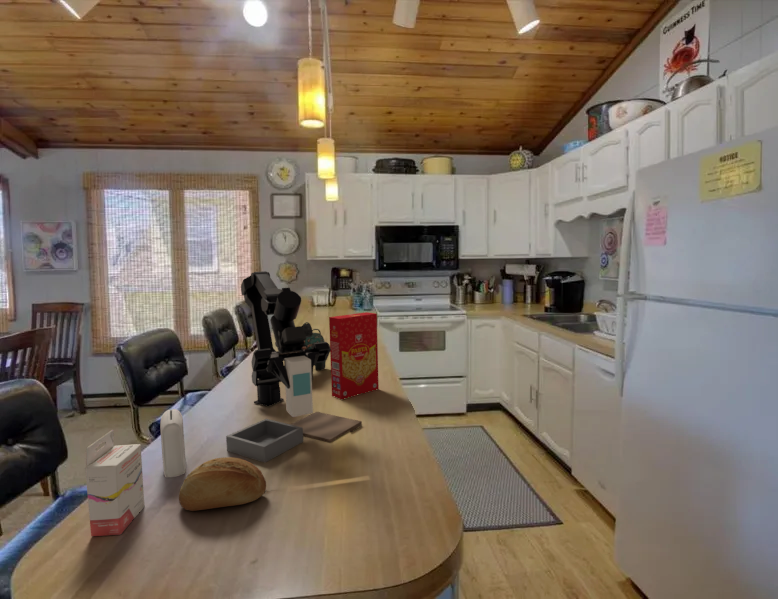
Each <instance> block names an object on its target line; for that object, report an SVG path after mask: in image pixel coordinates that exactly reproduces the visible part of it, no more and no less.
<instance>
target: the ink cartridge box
mask: <svg viewBox="0 0 778 599" xmlns="http://www.w3.org/2000/svg"><path fill="white" fill-rule="evenodd" d="M114 436H115V430H114V429H111V430H110V431H108V432H107V433H106V434H104V435H103V436H101V437H100V438H98V439H97V440H95V441H94V442H92V444H90V445H88V446H87V447H86V450H85V468H84V469H85V482H86V493H87V504H88V513H89V528H90V536H91V537H101V536H117V535H118V536H119V535H122V534H123V533H124V532H125V530H126V529H127V528H128V527H129V525H130V524H131V523H132V522H133V521H134V520H135V518H136V517H137V516H138V515H139V514H140V513H139V512H142V510H143V509H144V508H145V494H144V493H145V492H144V490H145V489H144V478H143V477H144V476H143V461H142V444H140V443H137V444H136V443H135V444H134V443H133V444H132V443H131V444H121V445H118V444H117V445H114V443H115V442H114V440H115V439H114V438H115V437H114ZM101 444H104V445H103V446H102V447H100V445H101ZM98 447H100V448H99V449H98V450H97V448H98ZM133 519H134V520H133ZM132 520H133V521H132Z"/></svg>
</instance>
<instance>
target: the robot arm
mask: <svg viewBox="0 0 778 599" xmlns="http://www.w3.org/2000/svg"><path fill="white" fill-rule="evenodd" d="M240 293H241V296H243V299H244V302H245V304H246V306H248V307H249V308H250V309H251V315H252V323H253V327H254V329H253V330H254V334H255V340H256V341H255V342H256V345H257V349H255V350H254V351H253V352H252V353H253V354H252V358H251V369H252V371H251V372H252V373H251V382H252V384H253V385H254V386H255V387H256V390H257V400H254V401H253V404H255V405H260V406H263V407H271V406H274V405H276V404H279V403H281V402H283V401H285V399H284V398H282V397H281V387H280V383H282V384H283V385H284V387H285V386H286V387H287V388H288V389H289V388H290V383H289V379H288V376H287V373H286V370H285V367H284V358H290V357H297V356H306V357H307V358H309V359H310V360H311V374H312V380H314V379H313V377H314V367H315V365H316V363H320V362H325V361H326V362H327V360H328V358H329V355H330V351H331V348H330V343H329V342H327V341H325V342H319V343H313V345H312V348H311V349H307V350H302V347H304V344H305V343H304V340H306V338H309V337H311V336H312V335H313V333H314V331H312V330H313V328H312V324H311V323H310V322H308V323H309V324H307V323H306V324H304V323H303V324H302V325H301V326H299V325H298V326H296V325H295V320H296V319H297V317H298V314H299V310H300V307H301V304H302V298H301V296H300V295H299V294H298V293H297V292H295V291H294V290H291V287H281V288H278V286H277V285H276V283H275V282H274V280H273V278H271V275H270V272H268V271H266V270H265V271H253V272H251V273H250V275H249V276H247V277H245V278H243V280H242V282H241V286H240ZM271 315H272V316H271ZM268 316H271V317H270V319H269V317H268ZM270 324H271V325H270ZM270 326H271V327H270ZM271 329H272V332H271ZM272 333H273V337H274V341H275V343H274V345H275V348H277V350H276V349H274V345H273V338H272Z"/></svg>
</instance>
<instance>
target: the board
mask: <svg viewBox="0 0 778 599" xmlns="http://www.w3.org/2000/svg"><path fill="white" fill-rule="evenodd" d="M289 424H290V425H294V426H298V427H303V437H307V438H311V439H315V440H319V441H323V442H327V443H331V442H333V441H335V440H337V439H338V438H340V437H341V436H344V435H345V434H347V433H348V432H350V433H352V432H354V431H356V430H357V429H359V428H361V427H362V426H363V424H362V420H357V419H352V418H349V417H343V416H339V415H334V414H329V413H325V412H320V411H314V412H313V413H311V414H308V415H307V416H305V417H303V418H301V419H299V420H297V421H294V422H292V423H289ZM358 427H359V428H358ZM353 430H354V431H353Z"/></svg>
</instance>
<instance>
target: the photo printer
mask: <svg viewBox="0 0 778 599" xmlns="http://www.w3.org/2000/svg"><path fill="white" fill-rule="evenodd" d="M159 424H160V425H159V426H160V429H159V430H160V441H161V442H160V444H161V456H162V468H163V475H164V477H165V478H176V477H179V476H182V475H183V474H184V475H185V473H186V471H187V470H186V469H187V468H186V467H187V461H186V460H187V458H186V448H185V447H186V446H185V444H186V443H185V434H184V432H185V431H184V417H183V415H182V413H181V411H179V409H176V408H173V409H167V410H166V411H164V413H163V414H162V415H161V418H160V423H159Z"/></svg>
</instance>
